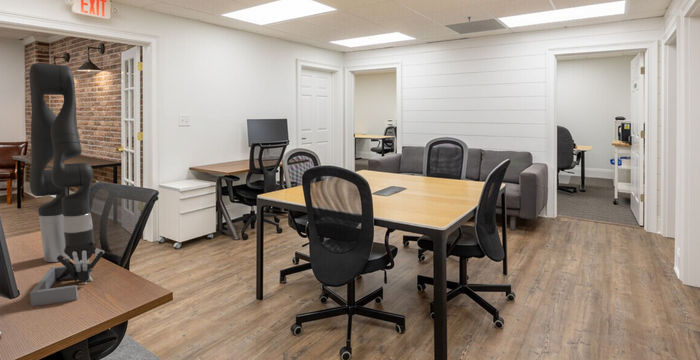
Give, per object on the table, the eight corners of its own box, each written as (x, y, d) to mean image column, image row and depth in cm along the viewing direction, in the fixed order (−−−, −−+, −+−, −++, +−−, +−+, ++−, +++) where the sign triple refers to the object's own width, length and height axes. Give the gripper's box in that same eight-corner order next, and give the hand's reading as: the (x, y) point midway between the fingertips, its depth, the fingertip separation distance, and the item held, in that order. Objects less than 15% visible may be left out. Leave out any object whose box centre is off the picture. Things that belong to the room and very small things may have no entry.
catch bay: (52, 279, 138) (50, 267, 137) (91, 274, 142) (89, 263, 141) (31, 306, 118) (29, 292, 118) (77, 299, 122) (75, 286, 122)
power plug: (62, 274, 139) (87, 255, 137) (76, 293, 140) (101, 274, 137) (48, 281, 134) (73, 261, 131) (62, 300, 134) (88, 281, 132)
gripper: (105, 223, 135) (109, 274, 138) (56, 227, 130) (62, 280, 133) (101, 229, 128) (106, 283, 131) (49, 233, 123) (55, 289, 126)
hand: (84, 281), depth 132 cm, fingers closed
